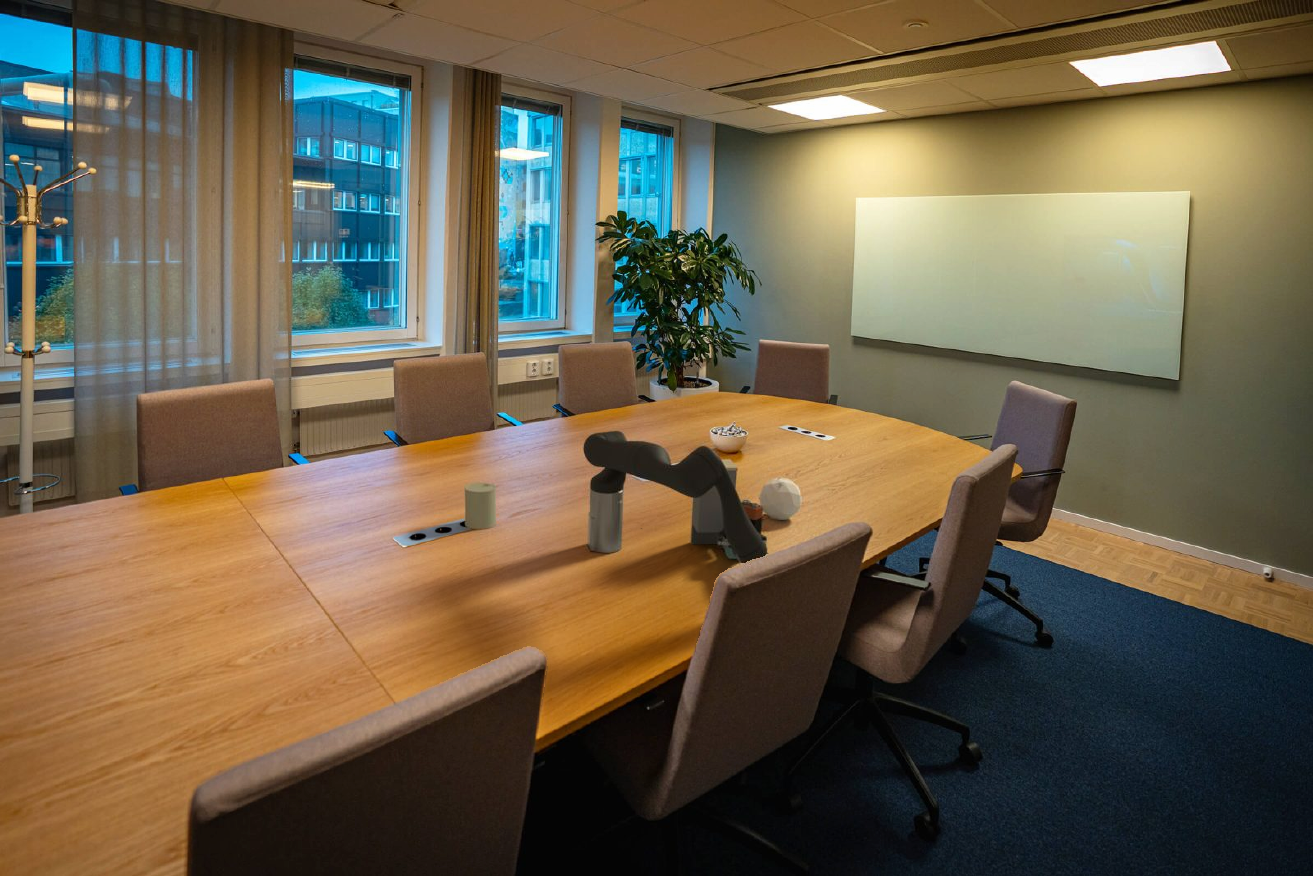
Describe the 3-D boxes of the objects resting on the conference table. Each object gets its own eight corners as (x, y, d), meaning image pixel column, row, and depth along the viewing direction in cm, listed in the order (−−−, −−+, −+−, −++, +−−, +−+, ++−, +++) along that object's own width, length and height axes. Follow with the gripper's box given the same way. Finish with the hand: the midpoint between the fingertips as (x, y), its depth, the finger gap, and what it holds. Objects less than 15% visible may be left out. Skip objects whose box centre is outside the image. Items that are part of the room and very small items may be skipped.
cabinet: (696, 553, 224) (700, 467, 218) (689, 542, 232) (694, 459, 226) (732, 552, 226) (737, 467, 220) (724, 541, 234) (730, 459, 228)
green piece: (729, 558, 219) (731, 517, 216) (718, 542, 231) (720, 502, 228) (743, 558, 220) (746, 516, 217) (731, 542, 231) (734, 502, 229)
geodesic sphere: (807, 512, 245) (805, 470, 250) (762, 510, 245) (761, 468, 250) (799, 526, 258) (798, 486, 263) (756, 524, 258) (756, 484, 263)
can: (502, 523, 241) (502, 485, 238) (480, 531, 234) (480, 492, 231) (480, 516, 246) (480, 479, 243) (458, 524, 238) (457, 486, 235)
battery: (743, 528, 245) (745, 497, 243) (761, 534, 241) (764, 503, 238) (734, 532, 242) (736, 500, 239) (753, 538, 238) (755, 506, 235)
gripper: (778, 538, 207) (758, 516, 223) (724, 539, 204) (708, 517, 221) (775, 565, 208) (756, 541, 225) (722, 567, 206) (707, 542, 222)
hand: (733, 529), depth 223 cm, fingers closed on green piece, 4 cm apart
